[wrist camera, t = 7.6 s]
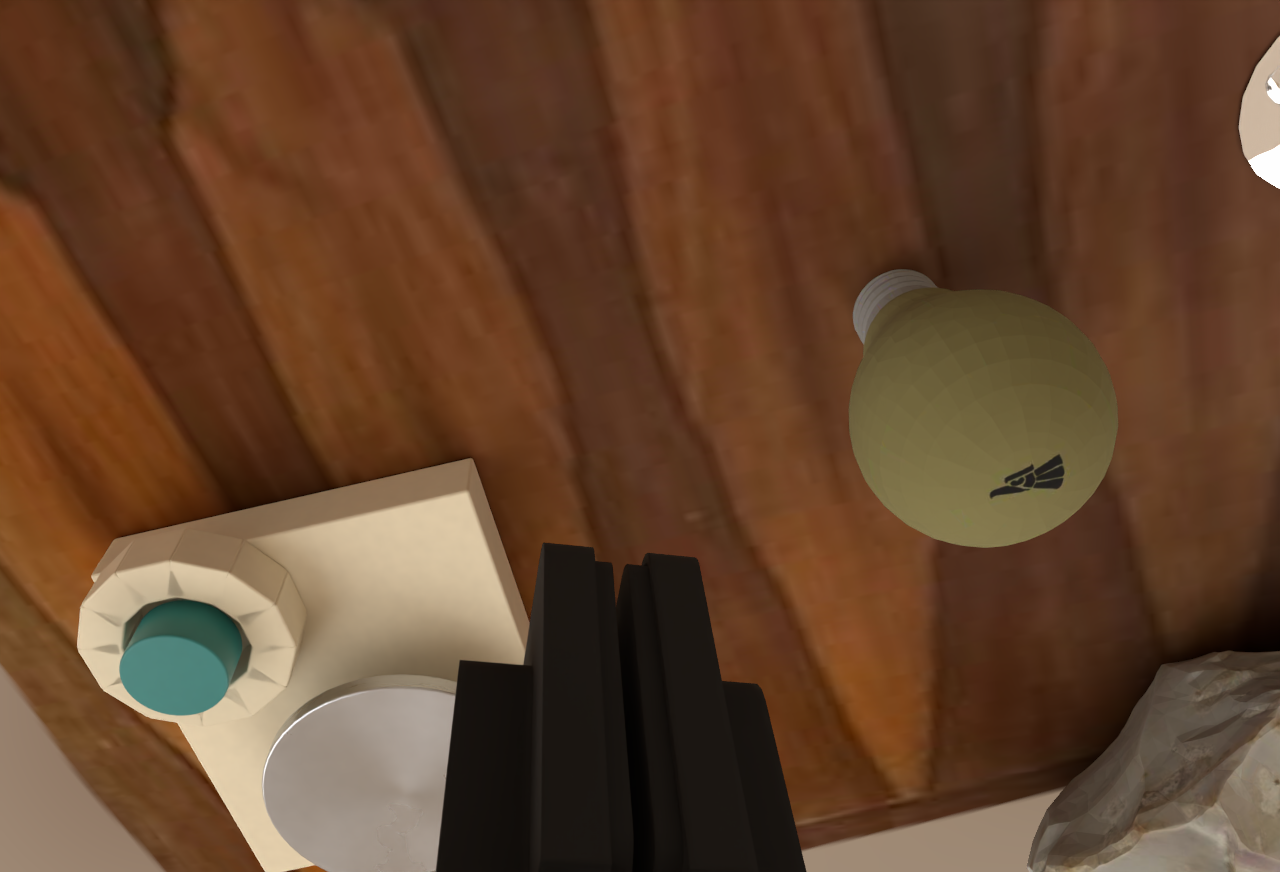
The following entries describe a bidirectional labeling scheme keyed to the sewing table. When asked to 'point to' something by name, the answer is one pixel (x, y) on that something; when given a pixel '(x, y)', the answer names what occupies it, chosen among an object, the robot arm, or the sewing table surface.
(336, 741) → the weighing pan
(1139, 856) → the stone
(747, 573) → the sewing table surface
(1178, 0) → the sewing table surface
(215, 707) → the scale
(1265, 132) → the wineglass
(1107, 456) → the light bulb
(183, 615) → the button
